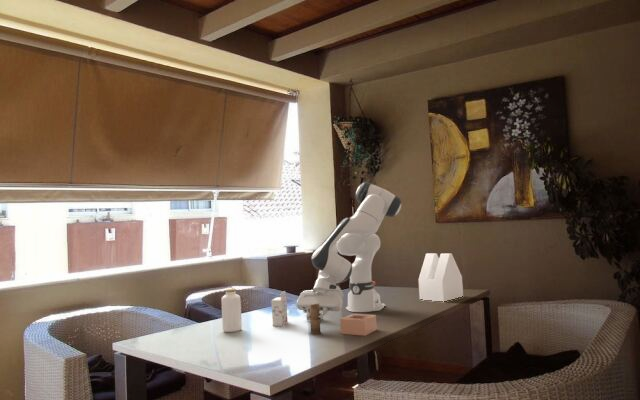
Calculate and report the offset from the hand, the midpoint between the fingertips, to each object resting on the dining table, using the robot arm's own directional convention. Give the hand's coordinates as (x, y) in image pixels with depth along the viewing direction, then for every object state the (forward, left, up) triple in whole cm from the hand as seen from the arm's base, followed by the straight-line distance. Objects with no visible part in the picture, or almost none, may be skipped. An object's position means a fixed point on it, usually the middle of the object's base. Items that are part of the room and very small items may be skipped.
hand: (314, 318), depth 202 cm
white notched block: (-95, +24, -7) cm, 98 cm away
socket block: (-9, +16, -6) cm, 19 cm away
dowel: (-1, 0, -6) cm, 6 cm away
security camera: (-25, -16, -7) cm, 30 cm away
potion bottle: (+6, -39, -7) cm, 40 cm away
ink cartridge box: (-12, -26, -7) cm, 29 cm away
